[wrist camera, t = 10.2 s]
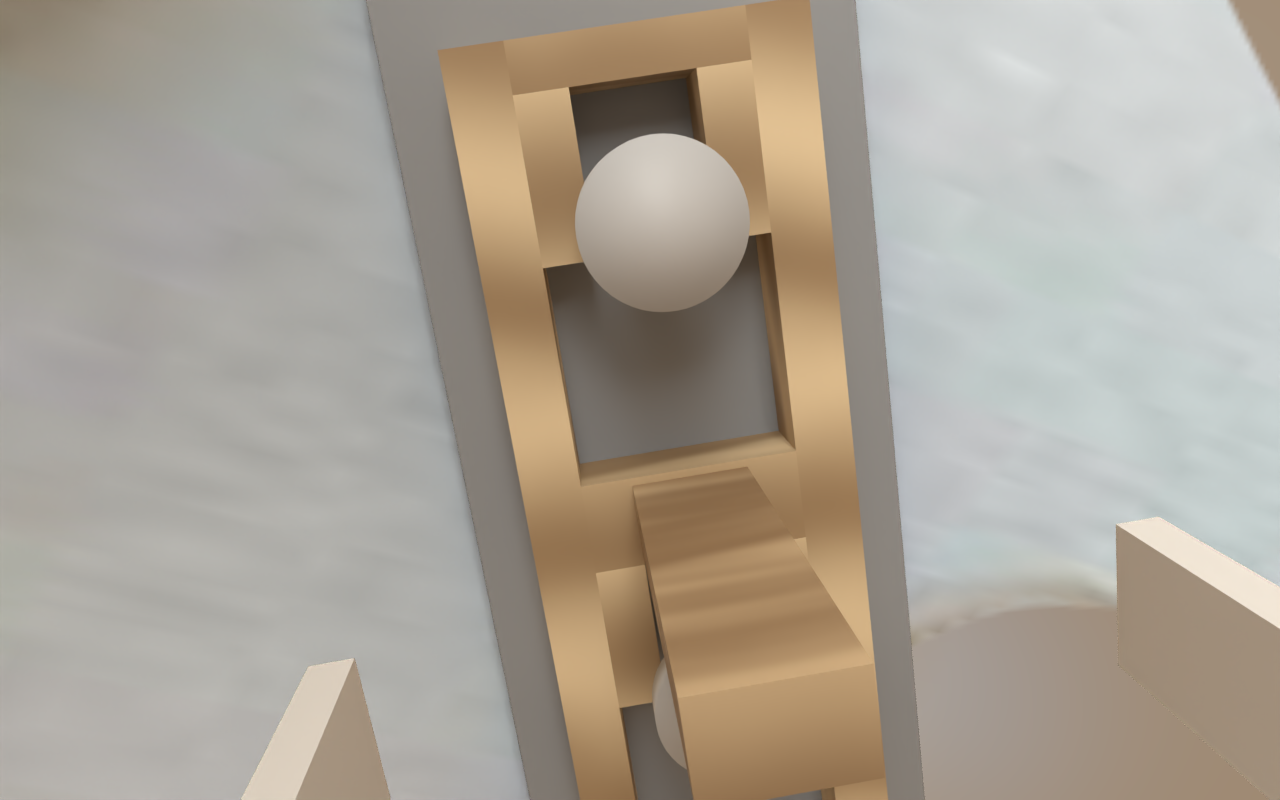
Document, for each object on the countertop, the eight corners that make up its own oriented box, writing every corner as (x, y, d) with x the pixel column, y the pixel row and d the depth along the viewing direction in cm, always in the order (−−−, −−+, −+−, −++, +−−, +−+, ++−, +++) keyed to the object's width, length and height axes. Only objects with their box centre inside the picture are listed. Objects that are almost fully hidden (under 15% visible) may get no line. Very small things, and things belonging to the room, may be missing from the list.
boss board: (364, -47, 23) (304, -116, 18) (830, -114, 23) (906, -200, 18) (548, 856, 29) (544, 1002, 24) (912, 789, 30) (985, 918, 25)
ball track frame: (448, 61, 23) (320, -71, 11) (788, 11, 23) (1016, -170, 11) (601, 874, 28) (625, 1356, 17) (872, 824, 29) (1082, 1262, 17)
